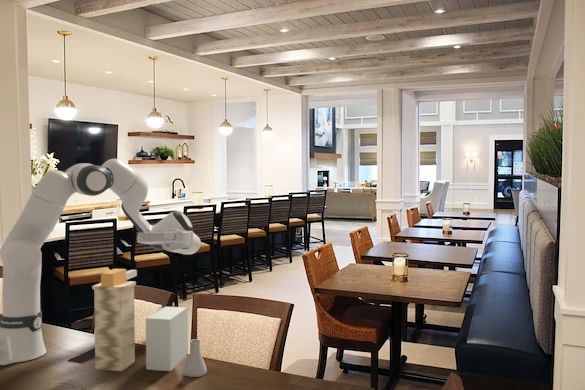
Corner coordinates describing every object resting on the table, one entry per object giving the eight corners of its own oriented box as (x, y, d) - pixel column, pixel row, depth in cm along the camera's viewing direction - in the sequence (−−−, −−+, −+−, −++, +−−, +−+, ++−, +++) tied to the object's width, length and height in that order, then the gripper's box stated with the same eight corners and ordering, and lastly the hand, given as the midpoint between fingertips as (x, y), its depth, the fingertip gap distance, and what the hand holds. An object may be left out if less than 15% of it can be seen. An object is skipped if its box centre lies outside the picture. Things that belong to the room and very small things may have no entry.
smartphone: (65, 360, 163) (96, 346, 176) (65, 362, 163) (96, 348, 176) (82, 363, 161) (112, 349, 174) (82, 365, 161) (112, 350, 174)
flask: (202, 378, 149) (202, 345, 149) (179, 376, 151) (179, 343, 150) (211, 369, 156) (210, 337, 156) (189, 367, 158) (188, 336, 157)
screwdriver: (113, 286, 154) (113, 273, 154) (101, 286, 154) (101, 273, 154) (139, 275, 171) (139, 264, 170) (128, 275, 171) (128, 263, 171)
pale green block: (146, 369, 156) (145, 318, 156) (165, 353, 170) (164, 306, 169) (170, 371, 155) (170, 319, 154) (187, 355, 169) (187, 307, 168)
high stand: (93, 369, 156) (92, 285, 155) (108, 359, 164) (107, 280, 163) (123, 371, 154) (122, 287, 153) (136, 361, 163) (135, 281, 162)
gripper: (150, 232, 196) (128, 227, 183) (197, 231, 189) (177, 225, 177) (148, 248, 195) (126, 244, 182) (195, 248, 188) (176, 243, 175)
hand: (151, 235), depth 179 cm, fingers open, 8 cm apart
